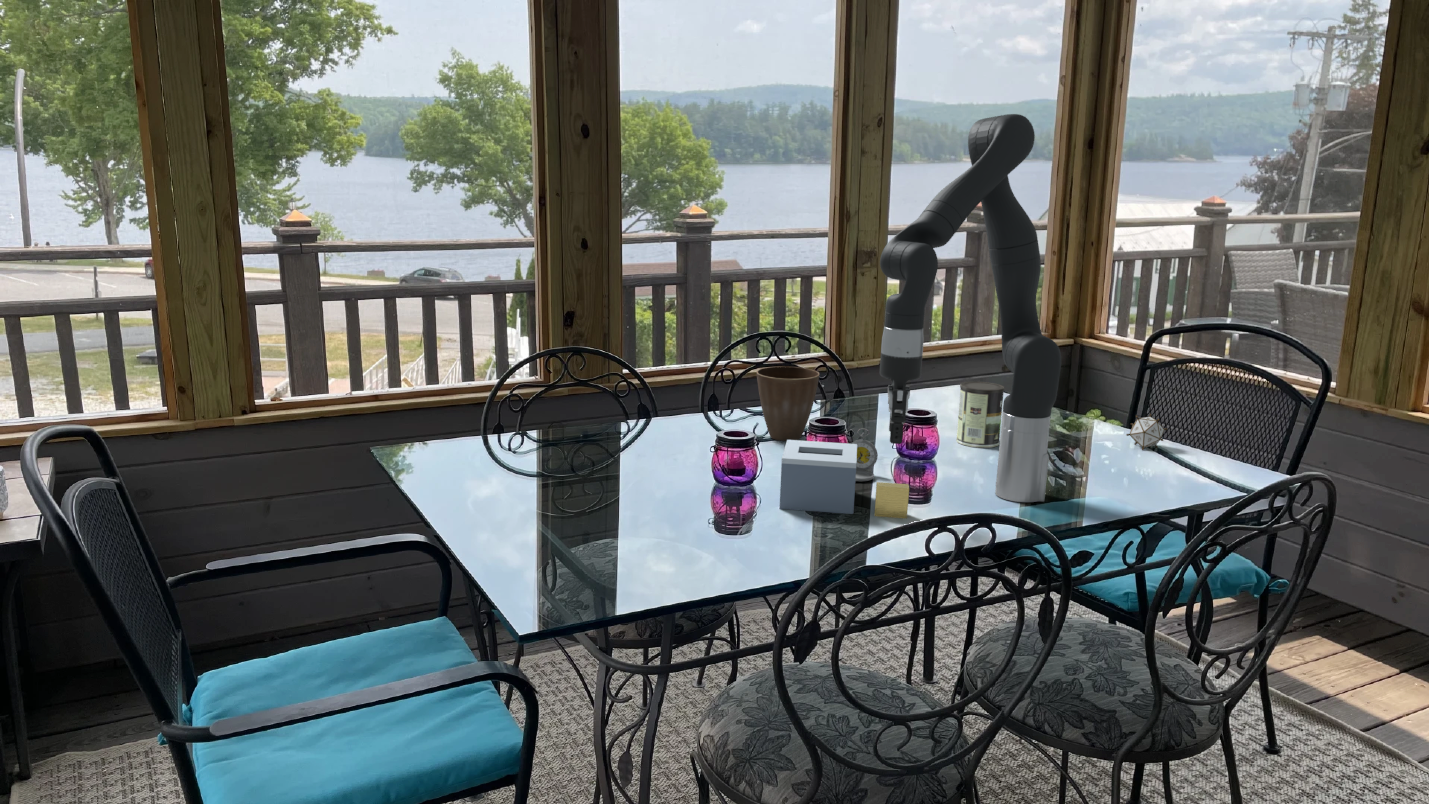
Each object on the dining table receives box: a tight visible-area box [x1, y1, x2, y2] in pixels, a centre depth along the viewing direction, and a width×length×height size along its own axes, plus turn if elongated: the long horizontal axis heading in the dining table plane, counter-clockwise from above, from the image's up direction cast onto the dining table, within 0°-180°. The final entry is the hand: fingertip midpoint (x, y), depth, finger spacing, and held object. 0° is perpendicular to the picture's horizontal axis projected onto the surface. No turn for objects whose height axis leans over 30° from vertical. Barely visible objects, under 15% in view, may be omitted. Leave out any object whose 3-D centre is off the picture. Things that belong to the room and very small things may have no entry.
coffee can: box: [955, 380, 1005, 449], centre depth 253 cm, size 10×10×14 cm
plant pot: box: [756, 366, 820, 442], centre depth 252 cm, size 15×15×16 cm
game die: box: [1125, 413, 1168, 451], centre depth 254 cm, size 9×8×10 cm
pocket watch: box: [850, 427, 878, 482], centre depth 223 cm, size 8×8×10 cm
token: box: [874, 481, 910, 520], centre depth 199 cm, size 6×2×6 cm, turn 82°
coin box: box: [779, 439, 858, 515], centre depth 206 cm, size 14×14×10 cm
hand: (895, 437), depth 197 cm, fingers open, 8 cm apart
